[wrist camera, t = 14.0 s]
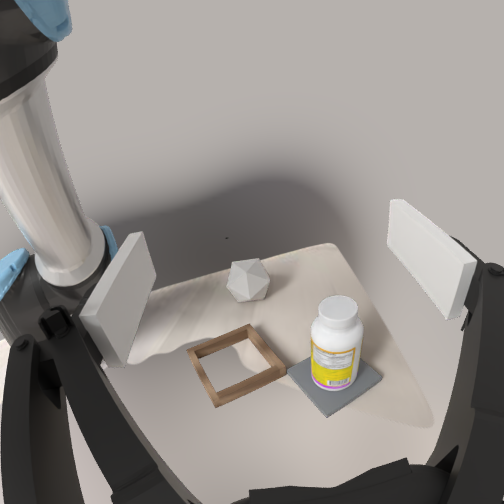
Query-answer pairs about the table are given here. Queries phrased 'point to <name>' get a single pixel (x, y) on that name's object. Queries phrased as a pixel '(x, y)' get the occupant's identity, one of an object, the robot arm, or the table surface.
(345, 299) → the supplement bottle
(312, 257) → the table surface
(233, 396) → the walnut frame
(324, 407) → the slate coaster
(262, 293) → the die
